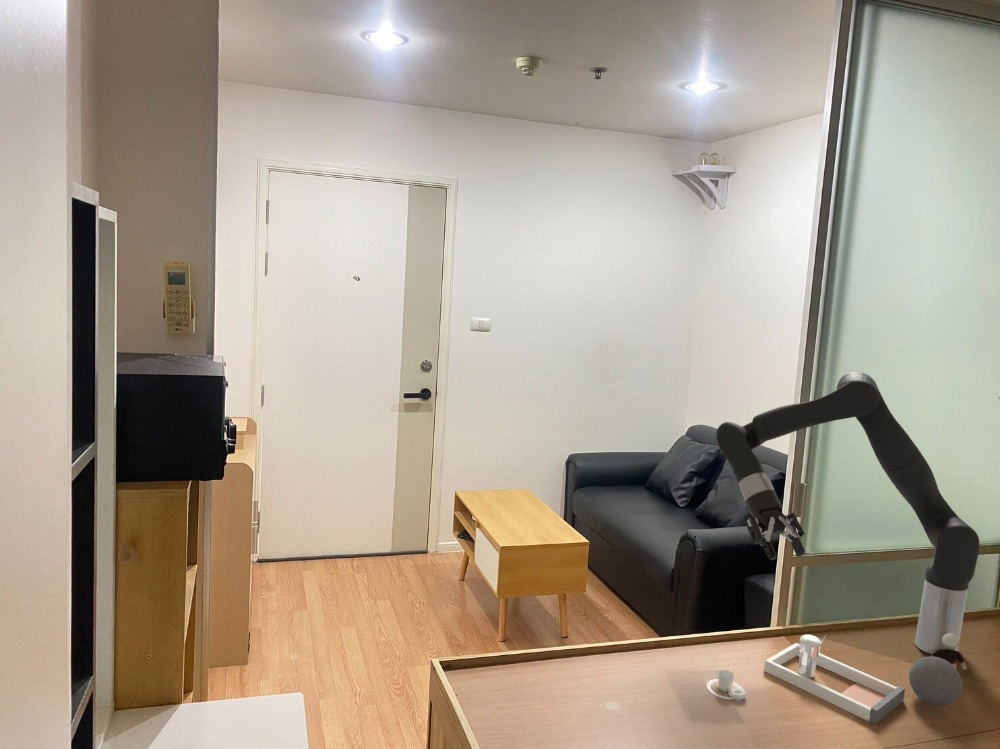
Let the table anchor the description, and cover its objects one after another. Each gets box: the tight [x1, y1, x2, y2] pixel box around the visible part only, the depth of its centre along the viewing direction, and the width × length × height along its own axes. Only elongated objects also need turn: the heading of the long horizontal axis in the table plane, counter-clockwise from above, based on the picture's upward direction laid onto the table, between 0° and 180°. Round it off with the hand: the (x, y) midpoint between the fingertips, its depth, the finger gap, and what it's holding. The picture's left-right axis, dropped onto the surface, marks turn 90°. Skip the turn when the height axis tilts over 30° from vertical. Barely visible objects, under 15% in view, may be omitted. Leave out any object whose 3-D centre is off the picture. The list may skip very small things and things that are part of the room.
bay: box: [763, 642, 906, 725], centre depth 174 cm, size 14×25×3 cm, turn 41°
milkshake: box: [798, 634, 827, 679], centre depth 178 cm, size 4×5×10 cm
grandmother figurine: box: [931, 633, 967, 671], centre depth 176 cm, size 8×4×13 cm, turn 89°
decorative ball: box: [908, 655, 963, 707], centre depth 169 cm, size 10×10×10 cm
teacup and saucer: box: [705, 669, 747, 701], centre depth 170 cm, size 9×8×4 cm
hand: (787, 557), depth 186 cm, fingers open, 8 cm apart
